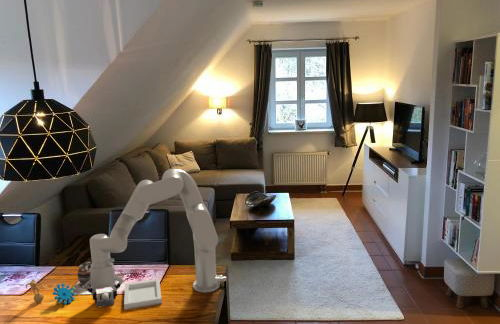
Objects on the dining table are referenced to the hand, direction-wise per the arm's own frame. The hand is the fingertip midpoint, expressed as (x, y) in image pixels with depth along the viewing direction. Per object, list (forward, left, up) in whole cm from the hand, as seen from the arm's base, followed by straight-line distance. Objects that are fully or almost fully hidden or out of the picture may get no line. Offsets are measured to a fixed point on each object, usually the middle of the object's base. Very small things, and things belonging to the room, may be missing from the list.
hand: (105, 299), depth 177 cm
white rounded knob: (0, 0, -1) cm, 1 cm away
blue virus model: (+17, -6, -2) cm, 18 cm away
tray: (-16, 0, -1) cm, 16 cm away
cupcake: (+9, -20, -2) cm, 22 cm away
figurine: (+29, -8, -2) cm, 30 cm away
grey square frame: (0, 0, -1) cm, 1 cm away
